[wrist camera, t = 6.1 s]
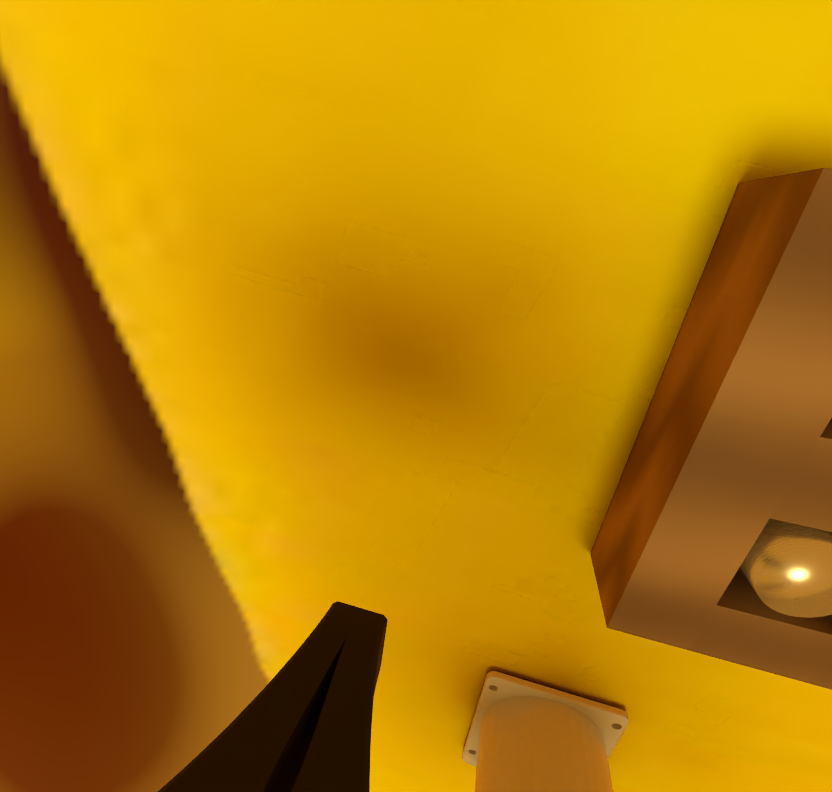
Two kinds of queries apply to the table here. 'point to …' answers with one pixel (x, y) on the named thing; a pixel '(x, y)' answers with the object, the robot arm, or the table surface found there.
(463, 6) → the table surface
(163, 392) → the table surface
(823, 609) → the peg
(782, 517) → the socket block
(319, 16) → the table surface
